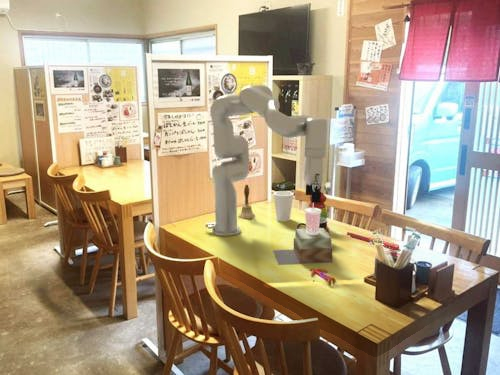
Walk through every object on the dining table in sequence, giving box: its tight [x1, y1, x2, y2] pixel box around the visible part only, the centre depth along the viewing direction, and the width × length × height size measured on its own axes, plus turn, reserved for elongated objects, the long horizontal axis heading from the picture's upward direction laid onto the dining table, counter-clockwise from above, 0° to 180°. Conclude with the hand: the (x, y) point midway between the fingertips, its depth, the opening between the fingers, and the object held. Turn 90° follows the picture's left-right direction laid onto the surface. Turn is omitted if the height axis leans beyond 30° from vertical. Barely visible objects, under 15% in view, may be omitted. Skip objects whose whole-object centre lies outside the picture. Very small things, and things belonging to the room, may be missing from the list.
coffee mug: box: [296, 217, 328, 230], centre depth 186 cm, size 12×9×10 cm
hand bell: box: [238, 184, 256, 220], centre depth 221 cm, size 8×8×16 cm
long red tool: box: [346, 231, 400, 251], centre depth 188 cm, size 24×2×5 cm
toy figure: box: [308, 267, 336, 286], centre depth 154 cm, size 8×12×3 cm
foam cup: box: [273, 190, 294, 223], centre depth 216 cm, size 10×9×13 cm
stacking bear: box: [307, 191, 330, 233], centre depth 203 cm, size 11×10×18 cm
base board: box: [272, 248, 334, 266], centre depth 170 cm, size 20×14×1 cm
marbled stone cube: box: [293, 228, 333, 263], centre depth 170 cm, size 12×12×9 cm
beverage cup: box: [304, 203, 321, 235], centre depth 167 cm, size 6×6×14 cm
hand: (312, 198), depth 166 cm, fingers open, 9 cm apart
